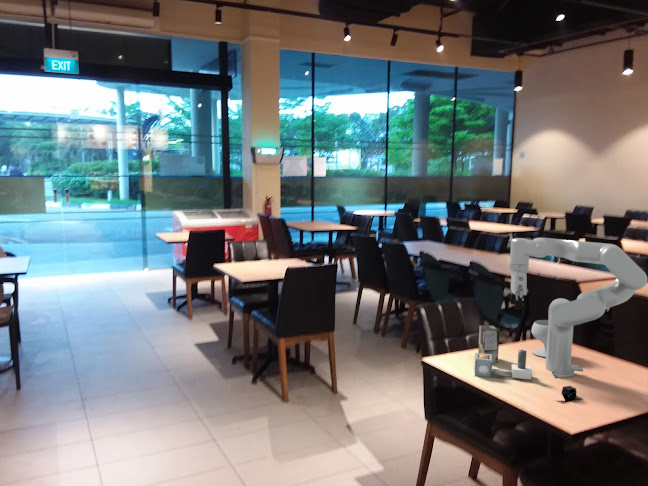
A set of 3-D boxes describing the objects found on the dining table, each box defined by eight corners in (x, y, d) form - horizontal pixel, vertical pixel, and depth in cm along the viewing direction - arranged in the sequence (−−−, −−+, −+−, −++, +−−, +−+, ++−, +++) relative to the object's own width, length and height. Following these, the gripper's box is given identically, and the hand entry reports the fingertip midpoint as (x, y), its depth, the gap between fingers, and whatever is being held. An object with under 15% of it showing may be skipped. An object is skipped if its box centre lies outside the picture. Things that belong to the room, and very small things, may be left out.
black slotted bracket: (562, 405, 188) (563, 393, 187) (547, 397, 194) (548, 385, 194) (589, 400, 192) (589, 389, 191) (573, 393, 199) (574, 382, 198)
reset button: (487, 361, 214) (488, 354, 213) (488, 364, 210) (488, 357, 210) (478, 361, 215) (479, 354, 214) (478, 363, 211) (479, 356, 211)
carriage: (529, 374, 211) (530, 349, 210) (531, 379, 205) (532, 354, 204) (511, 372, 213) (512, 347, 212) (512, 378, 207) (514, 352, 206)
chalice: (562, 352, 245) (564, 321, 244) (562, 361, 233) (564, 328, 231) (531, 348, 251) (532, 317, 249) (529, 356, 239) (531, 324, 237)
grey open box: (490, 370, 216) (491, 354, 215) (491, 377, 208) (492, 360, 207) (474, 368, 218) (475, 352, 217) (474, 375, 210) (475, 359, 209)
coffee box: (498, 366, 225) (500, 330, 223) (483, 366, 225) (485, 330, 223) (491, 359, 234) (493, 324, 232) (477, 359, 234) (479, 324, 232)
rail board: (529, 377, 213) (530, 369, 212) (532, 385, 204) (533, 377, 204) (474, 371, 218) (474, 363, 218) (474, 379, 210) (475, 371, 209)
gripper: (532, 271, 210) (530, 312, 212) (524, 264, 227) (521, 302, 229) (513, 270, 212) (511, 311, 214) (506, 263, 229) (504, 301, 231)
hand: (516, 306), depth 222 cm, fingers open, 9 cm apart
